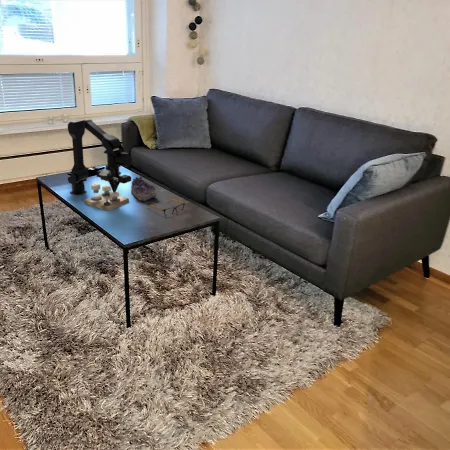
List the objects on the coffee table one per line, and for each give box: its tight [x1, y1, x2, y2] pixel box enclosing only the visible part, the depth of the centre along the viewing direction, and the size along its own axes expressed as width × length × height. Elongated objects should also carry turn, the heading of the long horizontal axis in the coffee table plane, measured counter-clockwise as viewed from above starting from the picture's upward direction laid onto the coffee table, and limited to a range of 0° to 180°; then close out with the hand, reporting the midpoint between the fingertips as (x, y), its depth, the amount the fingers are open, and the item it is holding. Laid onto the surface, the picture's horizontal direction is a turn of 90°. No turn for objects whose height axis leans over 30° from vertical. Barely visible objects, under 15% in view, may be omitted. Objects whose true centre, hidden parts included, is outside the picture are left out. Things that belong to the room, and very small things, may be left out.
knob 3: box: [109, 190, 120, 200], centre depth 239 cm, size 5×5×4 cm
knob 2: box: [101, 184, 112, 194], centre depth 246 cm, size 5×5×4 cm
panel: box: [84, 191, 130, 211], centre depth 241 cm, size 16×16×2 cm
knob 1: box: [90, 183, 101, 194], centre depth 238 cm, size 5×5×4 cm
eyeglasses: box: [146, 198, 186, 215], centre depth 238 cm, size 14×14×4 cm
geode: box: [130, 176, 157, 202], centre depth 253 cm, size 20×12×10 cm, turn 35°
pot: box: [104, 197, 111, 206], centre depth 233 cm, size 2×2×4 cm
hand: (114, 191), depth 238 cm, fingers closed, pressing on knob 3
